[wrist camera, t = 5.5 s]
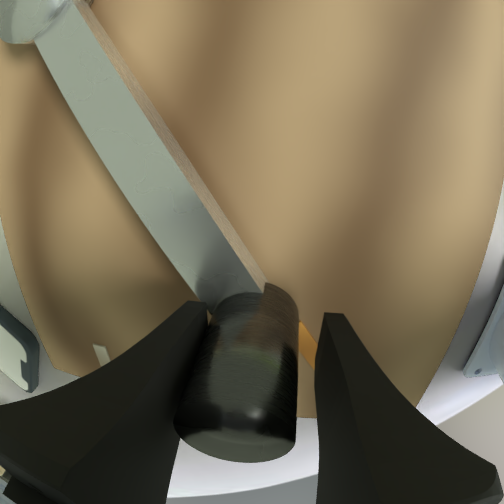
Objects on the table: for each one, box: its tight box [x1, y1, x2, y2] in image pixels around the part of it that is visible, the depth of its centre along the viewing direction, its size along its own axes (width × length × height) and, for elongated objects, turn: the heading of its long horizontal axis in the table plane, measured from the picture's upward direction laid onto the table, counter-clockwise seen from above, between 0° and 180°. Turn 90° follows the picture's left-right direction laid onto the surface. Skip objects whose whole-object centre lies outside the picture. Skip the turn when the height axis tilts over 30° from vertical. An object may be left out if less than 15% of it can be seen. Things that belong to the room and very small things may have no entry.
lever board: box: [0, 0, 504, 418], centre depth 11 cm, size 22×22×2 cm
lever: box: [0, 0, 299, 463], centre depth 7 cm, size 19×4×6 cm, turn 32°
